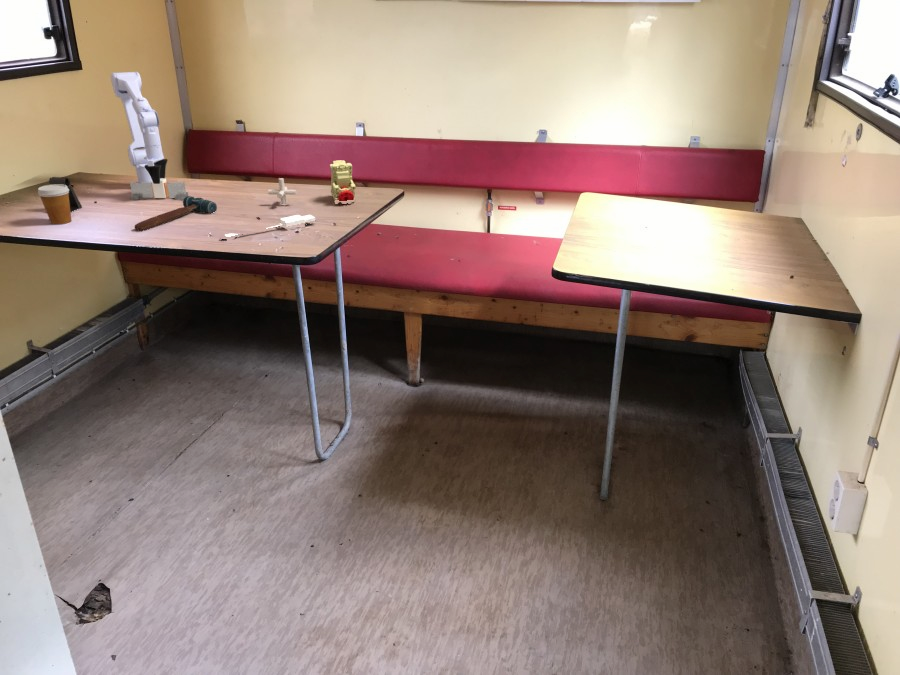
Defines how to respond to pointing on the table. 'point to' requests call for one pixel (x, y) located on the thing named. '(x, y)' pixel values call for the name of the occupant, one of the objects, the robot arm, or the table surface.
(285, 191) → the pipe connector
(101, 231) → the table surface
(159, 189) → the clip
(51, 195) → the disposable coffee cup
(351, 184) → the mechanical component
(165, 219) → the hammer
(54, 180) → the phone stand
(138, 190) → the grey and orange bar
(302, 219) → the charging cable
